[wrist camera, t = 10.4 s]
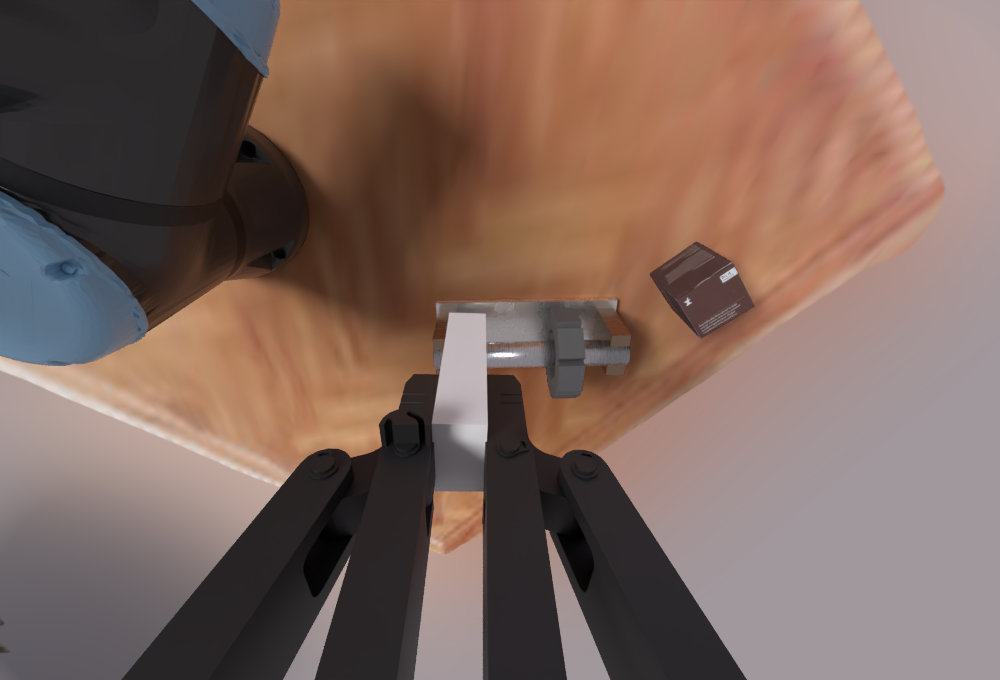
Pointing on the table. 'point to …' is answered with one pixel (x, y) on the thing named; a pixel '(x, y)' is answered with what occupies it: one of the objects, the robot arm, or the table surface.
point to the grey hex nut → (566, 353)
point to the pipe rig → (540, 331)
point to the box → (702, 288)
